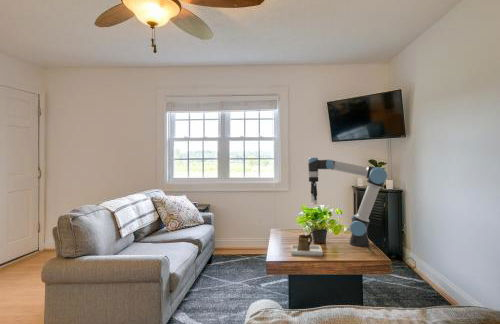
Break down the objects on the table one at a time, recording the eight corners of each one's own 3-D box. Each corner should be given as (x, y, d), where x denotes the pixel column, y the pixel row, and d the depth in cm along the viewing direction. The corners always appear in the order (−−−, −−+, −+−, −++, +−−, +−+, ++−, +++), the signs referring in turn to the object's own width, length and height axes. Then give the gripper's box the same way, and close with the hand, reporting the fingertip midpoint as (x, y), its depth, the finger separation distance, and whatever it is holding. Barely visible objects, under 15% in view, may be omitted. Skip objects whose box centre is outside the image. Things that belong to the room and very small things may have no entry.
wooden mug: (315, 253, 224) (315, 228, 224) (296, 252, 228) (296, 227, 227) (316, 249, 233) (316, 225, 232) (298, 248, 236) (297, 225, 236)
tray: (320, 249, 237) (320, 245, 237) (322, 255, 221) (322, 251, 221) (291, 248, 240) (291, 244, 240) (291, 255, 224) (291, 251, 224)
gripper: (307, 176, 263) (307, 201, 263) (310, 177, 238) (311, 205, 238) (315, 175, 263) (316, 201, 263) (320, 177, 238) (321, 205, 238)
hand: (314, 203), depth 250 cm, fingers open, 13 cm apart
